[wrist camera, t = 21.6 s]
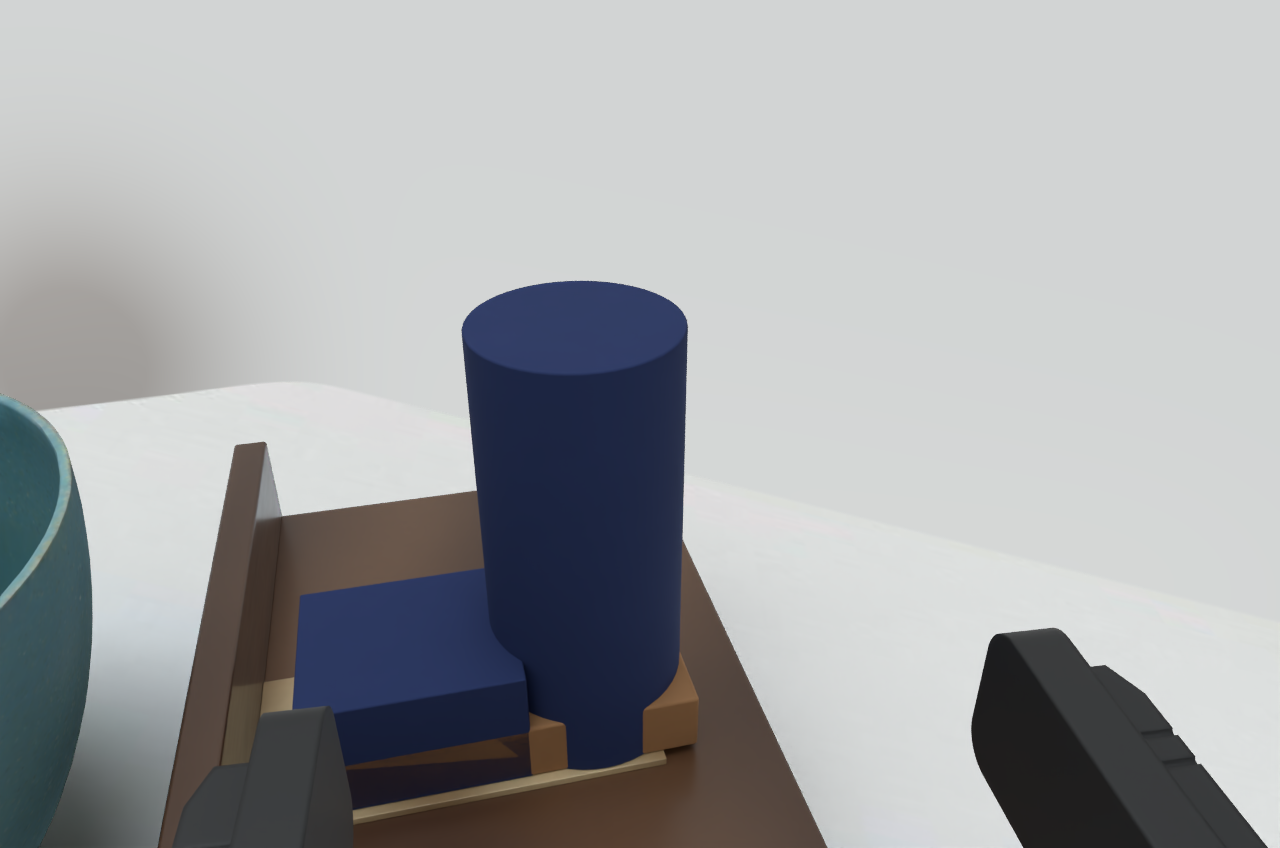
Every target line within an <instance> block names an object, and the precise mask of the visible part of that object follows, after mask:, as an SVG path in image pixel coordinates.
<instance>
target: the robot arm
mask: <svg viewBox="0 0 1280 848" xmlns="http://www.w3.org/2000/svg"><path fill="white" fill-rule="evenodd" d="M1172 729H1173V728H1172V727H1171V726H1170V724H1169V723H1168V722H1167V721H1166V719H1165V718H1164V717H1163V716H1162V714H1161V713H1160V712H1159V711H1158V709H1157V708H1156V707H1155V706H1154V704H1153V703H1152V702H1151V701H1150V699H1149V698H1148V697H1147V695H1146V694H1145V693H1143V692H1142V691H1141V690H1139V689H1138V688H1137V687H1135V686H1134V685H1132V684H1131V683H1130V682H1128V681H1127V680H1125V679H1124V678H1123V677H1121V676H1120V675H1118V674H1117V673H1116V672H1114V671H1113V670H1111V669H1110V668H1109V667H1107V666H1106V665H1102V666H1094V667H1090V666H1089V664H1088V663H1087V662H1086V660H1085V659H1084V658H1083V656H1082V655H1081V654H1080V652H1079V651H1078V650H1077V648H1076V647H1075V646H1074V644H1073V643H1072V642H1071V640H1070V639H1069V638H1068V637H1067V636H1066V634H1064V633H1063V632H1062V631H1061V630H1059V629H1057V628H1047V629H1038V630H1029V631H1020V632H1011V633H1002V634H996V635H995V636H994V637H993V638H992V639H991V641H990V643H989V647H988V651H987V655H986V660H985V664H984V669H983V673H982V677H981V682H980V686H979V691H978V695H977V700H976V704H975V709H974V713H973V717H972V726H971V733H972V743H973V749H974V753H975V757H976V760H977V763H978V765H979V768H980V770H981V772H982V774H983V776H984V778H985V779H986V781H987V783H988V785H989V787H990V788H991V790H992V792H993V794H994V796H995V797H996V799H997V801H998V803H999V805H1000V806H1001V808H1002V810H1003V812H1004V814H1005V815H1006V817H1007V819H1008V821H1009V823H1010V824H1011V826H1012V828H1013V830H1014V832H1015V833H1016V835H1017V837H1018V839H1019V841H1020V842H1021V844H1022V846H1023V848H1268V847H1267V846H1266V845H1265V844H1264V842H1263V841H1262V840H1261V839H1260V837H1259V836H1258V835H1257V834H1256V832H1255V831H1254V830H1253V829H1252V827H1251V826H1250V825H1249V823H1248V822H1247V821H1246V820H1245V818H1244V817H1243V816H1242V815H1241V813H1240V812H1239V811H1238V810H1237V808H1236V807H1235V806H1234V805H1233V803H1232V802H1231V801H1230V800H1229V798H1228V797H1227V796H1226V795H1225V793H1224V792H1223V791H1222V790H1221V788H1220V787H1219V786H1218V785H1217V783H1216V782H1215V781H1214V780H1213V778H1212V777H1211V776H1210V775H1209V773H1208V772H1207V771H1206V770H1205V768H1204V767H1203V766H1202V765H1201V764H1197V763H1196V761H1195V756H1194V754H1193V753H1192V752H1191V751H1190V749H1189V748H1188V747H1187V746H1186V744H1185V743H1184V742H1183V741H1182V739H1181V738H1180V737H1179V736H1178V735H1174V734H1173V731H1172ZM172 848H353V808H352V799H351V793H350V788H349V783H348V779H347V774H346V769H345V764H344V760H343V755H342V750H341V746H340V741H339V736H338V731H337V727H336V722H335V718H334V714H333V711H332V708H331V707H330V706H321V707H312V708H303V709H294V710H285V711H276V712H267V713H263V714H262V715H261V717H260V719H259V721H258V725H257V729H256V733H255V737H254V742H253V746H252V750H251V755H250V759H249V763H240V764H232V765H223V766H215V767H213V768H212V770H211V771H210V772H209V774H208V775H207V776H206V778H205V779H204V780H203V782H202V783H201V784H200V786H199V787H198V788H197V790H196V791H195V792H194V794H193V795H192V796H191V798H190V799H189V800H188V802H187V803H186V804H185V806H184V807H183V810H182V813H181V817H180V820H179V824H178V827H177V831H176V834H175V838H174V841H173V845H172Z"/></svg>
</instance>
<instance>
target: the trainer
mask: <svg viewBox="0 0 1280 848" xmlns="http://www.w3.org/2000/svg"><path fill="white" fill-rule="evenodd" d="M687 334H688V325H687V320H686V318H685V316H684V314H683V312H682V311H681V310H680V309H679V308H678V307H677V306H676V305H675V304H674V303H672V302H671V301H669V300H667V299H666V298H664V297H662V296H660V295H658V294H656V293H653V292H650V291H647V290H645V289H641V288H637V287H633V286H628V285H623V284H617V283H610V282H597V281H565V282H552V283H544V284H538V285H532V286H527V287H523V288H519V289H515V290H512V291H509V292H506V293H503V294H500V295H498V296H496V297H493V298H491V299H489V300H487V301H485V302H484V303H482V304H480V305H479V306H478V307H476V308H475V309H474V310H473V311H472V312H471V313H470V314H469V315H468V316H467V318H466V319H465V321H464V323H463V327H462V341H463V351H464V361H465V372H466V383H467V393H468V403H469V414H470V424H471V434H472V445H473V455H474V465H475V476H476V486H477V496H478V507H479V517H480V527H481V538H482V548H483V558H484V568H481V569H474V570H467V571H461V572H454V573H447V574H440V575H434V576H427V577H420V578H413V579H407V580H400V581H393V582H386V583H380V584H373V585H366V586H359V587H353V588H346V589H339V590H332V591H326V592H319V593H312V594H305V595H301V596H300V602H299V617H298V631H297V646H296V660H295V675H294V689H293V704H292V710H294V709H303V708H312V707H321V706H330V707H331V708H332V711H333V714H334V718H335V722H336V727H337V731H338V736H339V741H340V746H341V750H342V755H343V760H344V764H345V769H346V774H347V779H348V783H349V788H350V793H351V799H352V808H353V810H356V809H361V808H366V807H371V806H376V805H382V804H387V803H392V802H397V801H403V800H408V799H413V798H418V797H423V796H429V795H434V794H439V793H444V792H449V791H455V790H460V789H465V788H470V787H475V786H481V785H486V784H491V783H496V782H502V781H507V780H512V779H517V778H522V777H528V776H532V775H534V774H539V773H545V772H550V771H555V770H560V769H566V768H567V769H576V770H594V769H602V768H608V767H612V766H616V765H620V764H623V763H625V762H628V761H631V760H633V759H635V758H637V757H639V756H641V755H642V754H644V753H649V752H654V751H659V750H665V749H670V748H675V747H680V746H685V745H691V744H695V743H696V742H697V732H698V707H699V698H698V695H697V693H696V690H695V688H694V685H693V683H692V681H691V678H690V676H689V673H688V671H687V668H686V666H685V663H684V661H683V658H682V656H681V653H680V612H681V573H682V533H683V493H684V451H685V414H686V374H687V373H686V372H687V371H686V370H687Z"/></svg>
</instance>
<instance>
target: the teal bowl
mask: <svg viewBox="0 0 1280 848" xmlns="http://www.w3.org/2000/svg"><path fill="white" fill-rule="evenodd" d="M91 646H92V584H91V569H90V556H89V549H88V541H87V534H86V527H85V521H84V515H83V509H82V504H81V500H80V496H79V491H78V487H77V483H76V480H75V476H74V472H73V469H72V465H71V462H70V458H69V455H68V451H67V448H66V446H65V444H64V442H63V440H62V438H61V437H60V435H59V434H58V432H57V431H56V429H55V428H54V427H53V426H52V425H51V424H50V423H49V421H47V420H46V419H45V418H44V417H43V416H41V415H40V414H39V413H38V412H36V411H35V410H33V409H32V408H31V407H29V406H27V405H25V404H23V403H21V402H19V401H17V400H15V399H13V398H11V397H8V396H6V395H4V394H1V393H0V848H39V846H40V844H41V842H42V840H43V838H44V836H45V834H46V832H47V829H48V827H49V825H50V823H51V821H52V818H53V816H54V814H55V811H56V808H57V806H58V803H59V800H60V797H61V795H62V792H63V789H64V786H65V783H66V779H67V776H68V773H69V770H70V767H71V764H72V761H73V757H74V753H75V749H76V744H77V740H78V736H79V732H80V727H81V722H82V717H83V713H84V708H85V702H86V695H87V688H88V679H89V669H90V658H91Z"/></svg>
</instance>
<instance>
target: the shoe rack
mask: <svg viewBox="0 0 1280 848" xmlns="http://www.w3.org/2000/svg"><path fill="white" fill-rule="evenodd" d="M481 568H484V558H483V548H482V538H481V527H480V517H479V507H478V496H477V491H471V492H463V493H456V494H448V495H440V496H433V497H425V498H418V499H410V500H403V501H395V502H388V503H380V504H372V505H365V506H357V507H350V508H342V509H335V510H327V511H320V512H312V513H304V514H297V515H289V516H282V514H281V509H280V504H279V500H278V495H277V490H276V486H275V481H274V476H273V472H272V467H271V462H270V458H269V453H268V448H267V444H266V443H265V442H258V443H249V444H241V445H236V446H235V448H234V453H233V459H232V464H231V469H230V474H229V479H228V485H227V490H226V495H225V500H224V505H223V510H222V516H221V521H220V526H219V531H218V536H217V542H216V547H215V552H214V557H213V562H212V568H211V573H210V578H209V583H208V588H207V593H206V599H205V604H204V609H203V614H202V619H201V625H200V630H199V635H198V640H197V645H196V651H195V656H194V661H193V666H192V671H191V677H190V682H189V687H188V692H187V697H186V702H185V708H184V713H183V718H182V723H181V728H180V734H179V739H178V744H177V749H176V754H175V760H174V765H173V770H172V775H171V780H170V785H169V791H168V796H167V801H166V806H165V811H164V817H163V822H162V827H161V832H160V837H159V843H158V848H172V845H173V841H174V838H175V834H176V831H177V827H178V824H179V820H180V817H181V813H182V810H183V807H184V806H185V804H186V803H187V802H188V800H189V799H190V798H191V796H192V795H193V794H194V792H195V791H196V790H197V788H198V787H199V786H200V784H201V783H202V782H203V780H204V779H205V778H206V776H207V775H208V774H209V772H210V771H211V770H212V768H213V767H215V766H223V765H232V764H240V763H249V759H250V755H251V750H252V746H253V742H254V737H255V733H256V729H257V725H258V721H259V719H260V717H261V715H262V714H263V713H267V712H276V711H285V710H292V704H293V689H294V675H295V660H296V646H297V631H298V617H299V602H300V596H301V595H305V594H312V593H319V592H326V591H332V590H339V589H346V588H353V587H359V586H366V585H373V584H380V583H386V582H393V581H400V580H407V579H413V578H420V577H427V576H434V575H440V574H447V573H454V572H461V571H467V570H474V569H481ZM680 653H681V656H682V658H683V661H684V663H685V666H686V668H687V671H688V673H689V676H690V678H691V681H692V683H693V685H694V688H695V690H696V693H697V695H698V698H699V707H698V732H697V742H696V743H695V744H691V745H685V746H680V747H675V748H670V749H665V750H659V751H654V752H649V753H644V754H642V755H641V756H639V757H637V758H635V759H633V760H631V761H628V762H625V763H623V764H620V765H616V766H612V767H608V768H602V769H594V770H576V769H567V768H566V769H560V770H555V771H550V772H545V773H539V774H534V775H532V776H528V777H522V778H517V779H512V780H507V781H502V782H496V783H491V784H486V785H481V786H475V787H470V788H465V789H460V790H455V791H449V792H444V793H439V794H434V795H429V796H423V797H418V798H413V799H408V800H403V801H397V802H392V803H387V804H382V805H376V806H371V807H366V808H361V809H356V810H353V848H827V846H826V844H825V842H824V839H823V837H822V835H821V833H820V831H819V829H818V827H817V825H816V822H815V820H814V818H813V816H812V814H811V812H810V810H809V807H808V805H807V803H806V801H805V799H804V797H803V795H802V793H801V790H800V788H799V786H798V784H797V782H796V780H795V778H794V776H793V773H792V771H791V769H790V767H789V765H788V763H787V761H786V759H785V756H784V754H783V752H782V750H781V748H780V746H779V744H778V742H777V739H776V737H775V735H774V733H773V731H772V729H771V727H770V725H769V722H768V720H767V718H766V716H765V714H764V712H763V710H762V707H761V705H760V703H759V701H758V699H757V697H756V695H755V693H754V690H753V688H752V686H751V684H750V682H749V680H748V678H747V676H746V673H745V671H744V669H743V667H742V665H741V663H740V661H739V659H738V656H737V654H736V652H735V650H734V648H733V646H732V644H731V642H730V639H729V637H728V635H727V633H726V631H725V629H724V627H723V625H722V622H721V620H720V618H719V616H718V614H717V612H716V610H715V607H714V605H713V603H712V601H711V599H710V597H709V595H708V593H707V590H706V588H705V586H704V584H703V582H702V580H701V578H700V576H699V573H698V571H697V569H696V567H695V565H694V563H693V561H692V559H691V556H690V554H689V552H688V550H687V548H686V546H685V544H684V542H683V539H682V573H681V612H680Z"/></svg>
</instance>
